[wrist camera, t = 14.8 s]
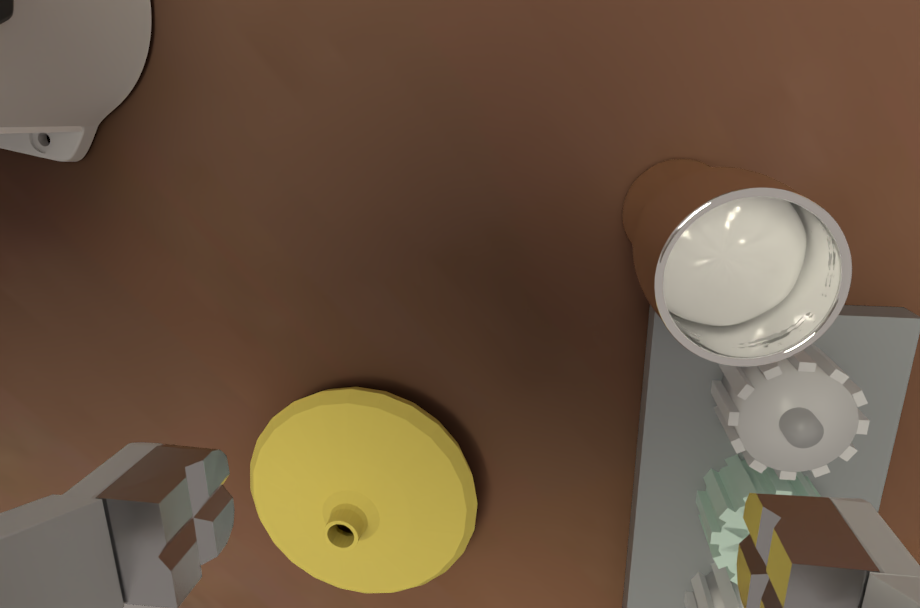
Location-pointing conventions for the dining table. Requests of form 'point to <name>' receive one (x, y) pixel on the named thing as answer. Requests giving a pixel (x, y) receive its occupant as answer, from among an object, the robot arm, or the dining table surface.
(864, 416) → the gear board
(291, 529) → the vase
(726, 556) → the loose gear
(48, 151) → the robot arm
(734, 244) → the beer glass
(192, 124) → the dining table surface
